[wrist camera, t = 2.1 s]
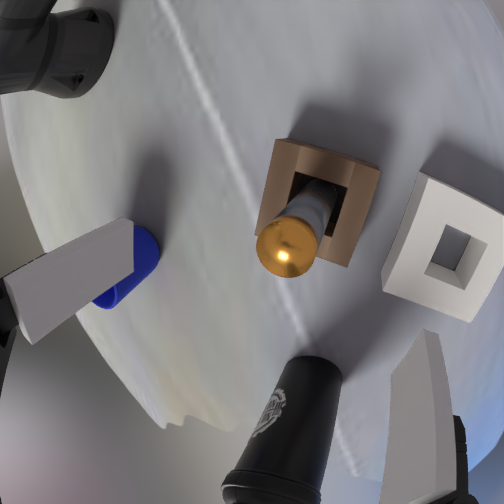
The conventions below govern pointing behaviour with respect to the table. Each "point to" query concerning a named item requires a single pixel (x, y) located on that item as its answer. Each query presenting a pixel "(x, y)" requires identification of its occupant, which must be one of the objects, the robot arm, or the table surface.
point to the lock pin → (297, 231)
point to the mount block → (330, 169)
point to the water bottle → (290, 438)
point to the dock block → (426, 240)
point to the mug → (143, 266)
